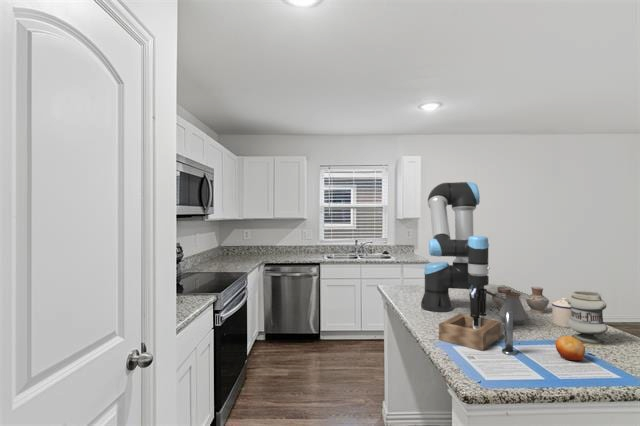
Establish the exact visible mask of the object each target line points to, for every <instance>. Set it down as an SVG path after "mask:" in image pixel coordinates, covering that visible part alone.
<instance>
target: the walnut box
mask: <svg viewBox="0 0 640 426" xmlns="http://www.w3.org/2000/svg"><path fill="white" fill-rule="evenodd" d="M470 315H471V314H470ZM470 315H469V314H463V313H458V314H456V315H454V316H453V317H452V316H451V317H450V318H447V319H446V320H444V321H442V322H439V323H438V340H439V341H443V342H446V343H451V344H455V345H459V346H462V347H467V348H469V349H474V350H478V351H481V352H484V351H485V350H486V349H487V348H488V347H490V346H491V345H493V344H494V343H495V342H496V341H497V340H499V339H500V338H501V337H502V335H501V334H502V325H501V324H502V323H501V322H502V321H501V320H496V319H495V320H494V319H489V318H486V317H485V318H481V328H479V329H477V330H476V329H473V317H470Z"/></svg>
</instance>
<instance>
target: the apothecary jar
mask: <svg viewBox="0 0 640 426" xmlns="http://www.w3.org/2000/svg"><path fill="white" fill-rule="evenodd" d="M567 302H568V304H569V305H570V306H571V318H570V319H569V320H568V326H569V327H570V328H569V329H571V330H573V331H575V332H577V333H576V334H572V335H571V336H572V337H574V338H576V339H578V340H580V341H581V342H582V343H583V344H585V345H590V346H591V345H592V346H601V345H604V340H603V339H601V338H599V337H597V336H601V335H603V334H605V333H606V332H607V331H608V329H609V328H608V325H607V324H606V322H604V318H603V317H604V316H603V311H604V310H605V309H606V308H607V303H606V301H604V300H603V299H602V297H601V294H600V293H599V292H594V291H590V290H589V291H586V290H574V291H572V295H571V296H570V297H569V298H567Z"/></svg>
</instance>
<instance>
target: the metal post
mask: <svg viewBox="0 0 640 426" xmlns="http://www.w3.org/2000/svg"><path fill="white" fill-rule="evenodd" d="M501 353H503V354H505V355H508V356H517V351H516V350H514V325H513V312H511V311H505V322H504V348H502V349H501Z"/></svg>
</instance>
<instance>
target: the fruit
mask: <svg viewBox="0 0 640 426" xmlns="http://www.w3.org/2000/svg"><path fill="white" fill-rule="evenodd" d="M554 343H555V349H556V351H557V353H558V355H559V356H560V357H562V358H563V360H567V361H581V360H583V359H584V358H585V356H586V355H585V354H586V346H585V345H584V343H582V342H581V341H580V340H578V339H576V338H574V337H572V335H565V336H564V335H562V336H560V337H558V338H557V339H556V340H555V342H554Z"/></svg>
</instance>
